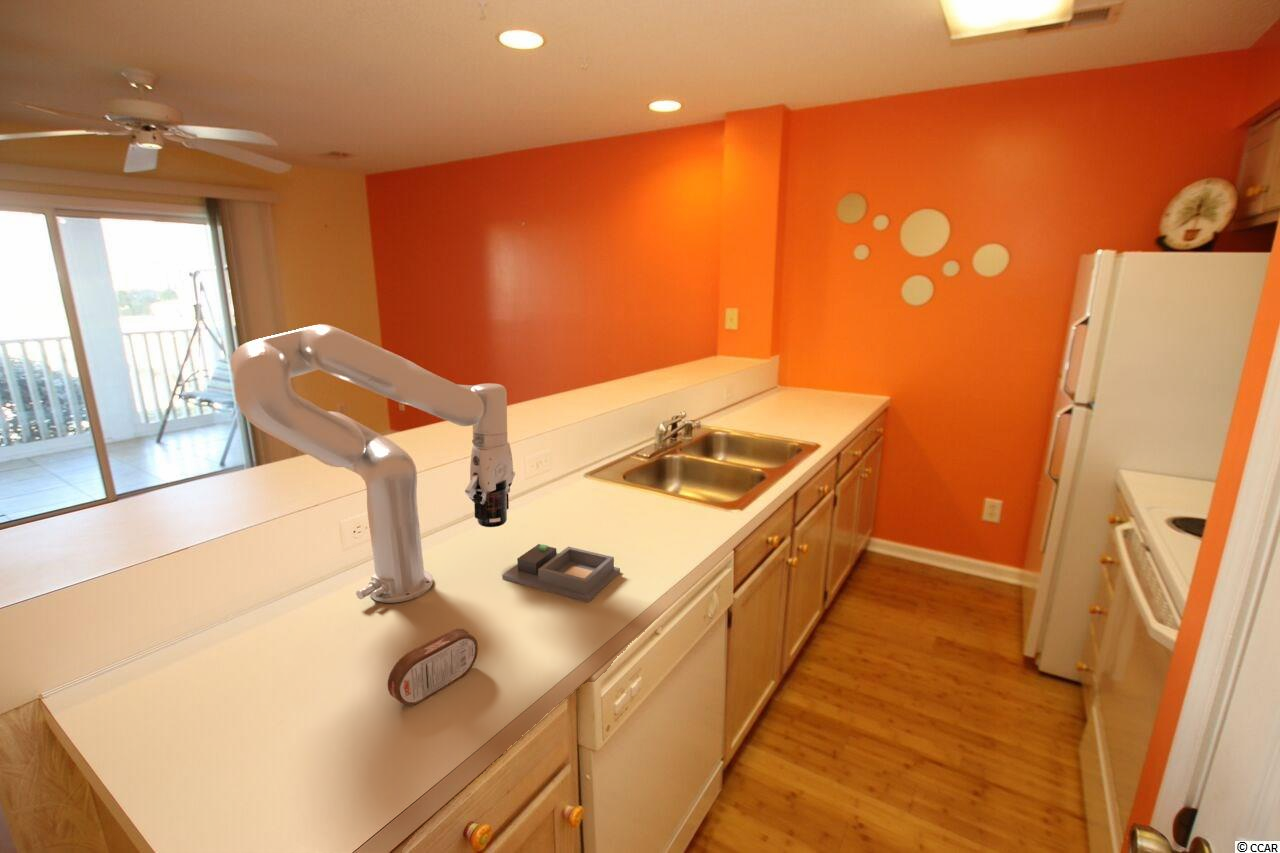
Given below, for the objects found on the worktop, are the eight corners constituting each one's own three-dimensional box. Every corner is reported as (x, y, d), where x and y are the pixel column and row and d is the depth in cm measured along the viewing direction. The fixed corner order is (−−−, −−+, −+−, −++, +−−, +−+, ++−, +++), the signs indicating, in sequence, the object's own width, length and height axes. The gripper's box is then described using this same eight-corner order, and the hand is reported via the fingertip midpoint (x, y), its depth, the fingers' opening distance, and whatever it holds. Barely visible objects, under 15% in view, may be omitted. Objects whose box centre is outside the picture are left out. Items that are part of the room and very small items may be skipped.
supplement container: (501, 515, 140) (501, 473, 137) (511, 525, 134) (510, 482, 132) (473, 519, 136) (472, 477, 134) (482, 530, 131) (481, 486, 128)
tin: (471, 660, 101) (468, 618, 99) (482, 668, 100) (479, 625, 97) (389, 709, 90) (383, 662, 88) (399, 718, 88) (393, 670, 86)
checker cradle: (588, 602, 119) (587, 582, 118) (502, 578, 129) (501, 560, 127) (620, 572, 132) (619, 553, 130) (539, 552, 141) (538, 535, 140)
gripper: (477, 450, 121) (479, 530, 125) (527, 433, 137) (528, 505, 141) (449, 445, 124) (452, 523, 128) (501, 429, 140) (503, 499, 144)
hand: (492, 513), depth 135 cm, fingers closed on supplement container, 6 cm apart
